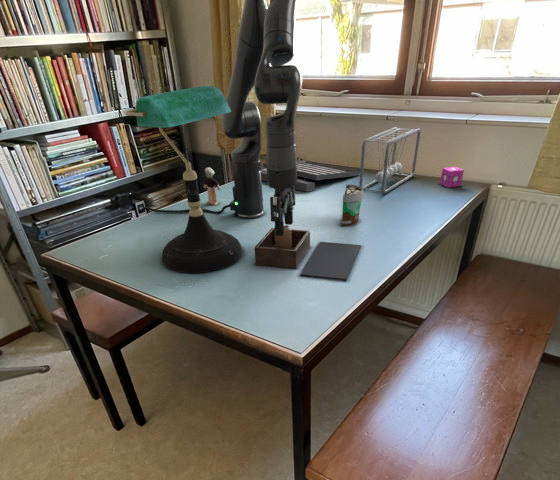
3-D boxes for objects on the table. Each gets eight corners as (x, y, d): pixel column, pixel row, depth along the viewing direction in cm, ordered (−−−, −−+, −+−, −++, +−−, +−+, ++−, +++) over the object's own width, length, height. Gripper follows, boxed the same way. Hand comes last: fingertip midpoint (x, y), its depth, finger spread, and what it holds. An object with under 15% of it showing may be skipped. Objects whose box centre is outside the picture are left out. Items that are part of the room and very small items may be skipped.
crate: (255, 264, 115) (254, 247, 112) (272, 244, 126) (271, 227, 123) (296, 268, 112) (295, 251, 109) (310, 247, 123) (310, 230, 120)
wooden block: (275, 254, 120) (274, 226, 115) (288, 252, 121) (288, 224, 116) (278, 259, 117) (277, 231, 112) (292, 257, 118) (291, 229, 113)
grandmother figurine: (202, 204, 158) (196, 168, 150) (207, 201, 160) (202, 165, 152) (220, 206, 155) (215, 169, 147) (225, 203, 158) (220, 166, 150)
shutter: (304, 176, 201) (254, 181, 183) (305, 160, 198) (254, 163, 179) (357, 185, 182) (307, 191, 163) (359, 167, 178) (308, 171, 160)
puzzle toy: (447, 187, 162) (450, 171, 158) (439, 183, 166) (442, 168, 162) (460, 185, 163) (464, 170, 159) (452, 182, 167) (455, 166, 163)
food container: (360, 228, 133) (363, 195, 126) (341, 227, 134) (343, 195, 128) (362, 215, 142) (365, 183, 136) (344, 214, 143) (346, 183, 137)
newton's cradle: (391, 173, 181) (396, 125, 170) (414, 176, 176) (421, 127, 165) (358, 191, 162) (362, 140, 151) (383, 195, 158) (389, 142, 146)
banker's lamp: (203, 283, 108) (172, 98, 83) (141, 265, 118) (95, 96, 93) (261, 246, 125) (249, 84, 100) (202, 233, 135) (178, 83, 110)
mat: (300, 275, 109) (300, 274, 109) (320, 243, 125) (320, 241, 125) (346, 280, 106) (346, 279, 105) (360, 246, 122) (360, 245, 122)
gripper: (276, 158, 110) (279, 220, 120) (257, 172, 100) (262, 238, 110) (303, 158, 108) (304, 221, 118) (288, 172, 98) (290, 240, 108)
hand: (284, 229), depth 114 cm, fingers open, 8 cm apart
